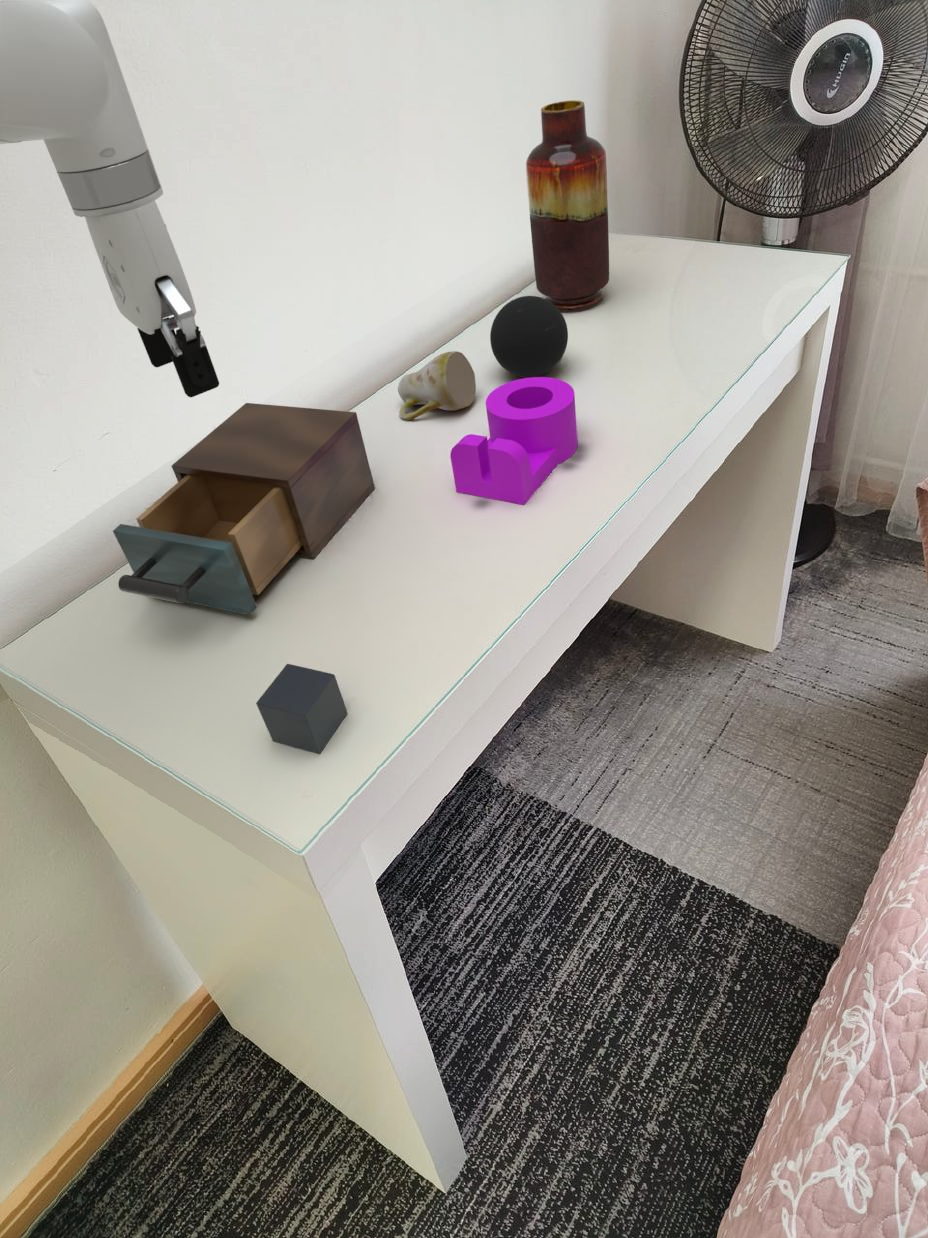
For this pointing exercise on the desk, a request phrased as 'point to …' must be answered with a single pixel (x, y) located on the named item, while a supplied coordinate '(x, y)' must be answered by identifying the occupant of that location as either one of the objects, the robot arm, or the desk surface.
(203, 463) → the cabinet
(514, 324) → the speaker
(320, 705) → the block
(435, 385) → the mug
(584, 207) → the vase
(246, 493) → the drawer
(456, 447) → the tape dispenser
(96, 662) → the desk surface
